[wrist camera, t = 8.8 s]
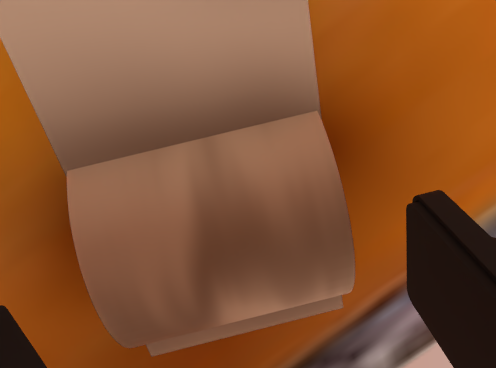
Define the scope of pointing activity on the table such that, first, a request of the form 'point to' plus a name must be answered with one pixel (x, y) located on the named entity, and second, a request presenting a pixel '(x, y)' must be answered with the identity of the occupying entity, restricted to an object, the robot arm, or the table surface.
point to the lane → (189, 161)
